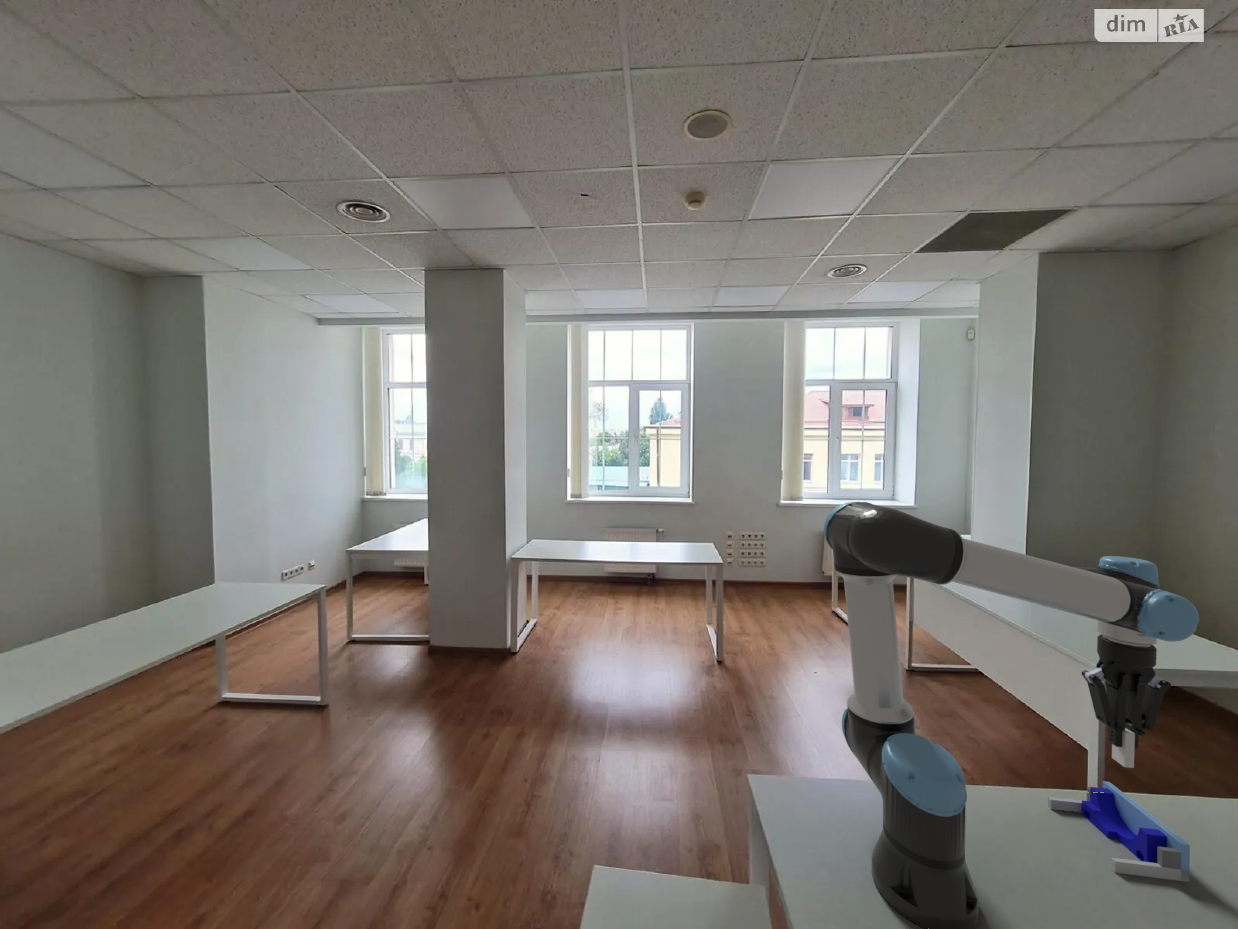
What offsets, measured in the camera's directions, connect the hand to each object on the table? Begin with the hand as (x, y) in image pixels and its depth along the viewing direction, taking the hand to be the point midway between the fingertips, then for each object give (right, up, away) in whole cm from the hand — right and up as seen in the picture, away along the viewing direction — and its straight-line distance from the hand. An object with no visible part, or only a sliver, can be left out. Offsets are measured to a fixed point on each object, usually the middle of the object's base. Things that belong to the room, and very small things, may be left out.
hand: (1122, 762), depth 87 cm
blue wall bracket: (-2, -15, +1) cm, 15 cm away
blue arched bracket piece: (+1, -16, +1) cm, 16 cm away
